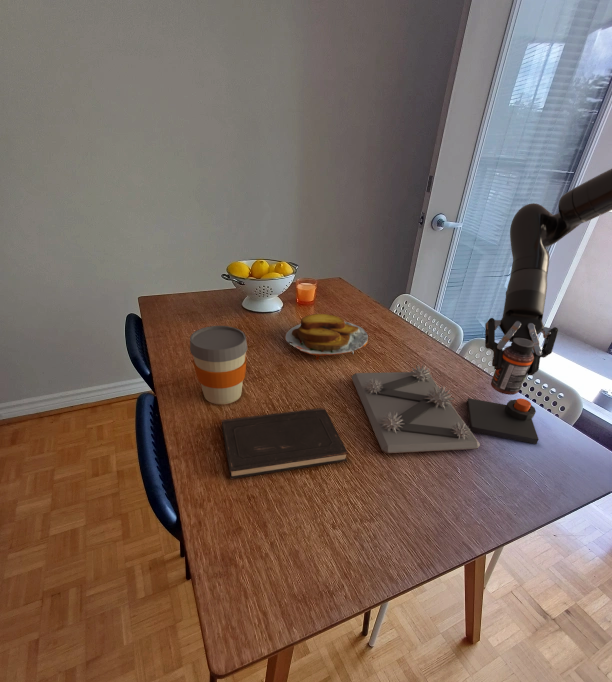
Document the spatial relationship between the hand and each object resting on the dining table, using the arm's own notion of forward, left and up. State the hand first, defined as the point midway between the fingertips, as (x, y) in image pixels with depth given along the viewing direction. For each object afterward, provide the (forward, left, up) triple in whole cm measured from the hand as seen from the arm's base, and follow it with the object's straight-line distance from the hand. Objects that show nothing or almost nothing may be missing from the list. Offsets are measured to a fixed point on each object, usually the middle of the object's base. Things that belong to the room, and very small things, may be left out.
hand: (514, 371), depth 82 cm
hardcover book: (+44, +20, -15) cm, 51 cm away
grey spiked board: (+19, 0, -15) cm, 24 cm away
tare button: (-7, -6, -12) cm, 15 cm away
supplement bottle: (0, -2, -5) cm, 6 cm away
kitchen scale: (-2, -3, -15) cm, 15 cm away
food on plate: (+45, -29, -15) cm, 55 cm away
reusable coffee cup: (+63, +7, -15) cm, 65 cm away
